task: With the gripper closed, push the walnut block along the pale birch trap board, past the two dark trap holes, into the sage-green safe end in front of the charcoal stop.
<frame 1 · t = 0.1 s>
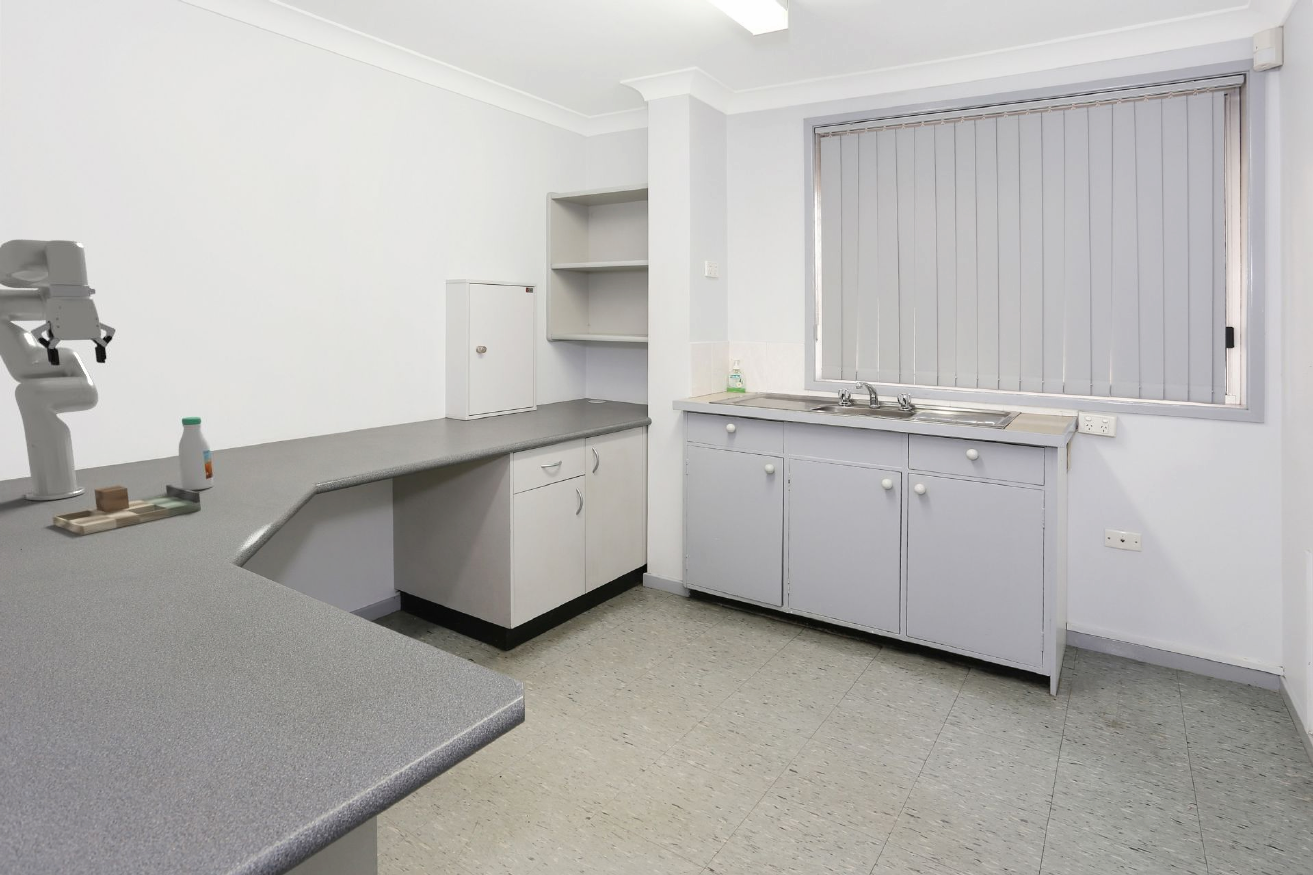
hand: (78, 364, 190), 37 cm above the countertop, tool pointing down, fingers open, 9 cm apart
milk bottle: (198, 488, 219), on the countertop
trap board: (129, 516, 189), on the countertop
walnut block: (113, 508, 189), point 2 cm above the countertop, touching trap board
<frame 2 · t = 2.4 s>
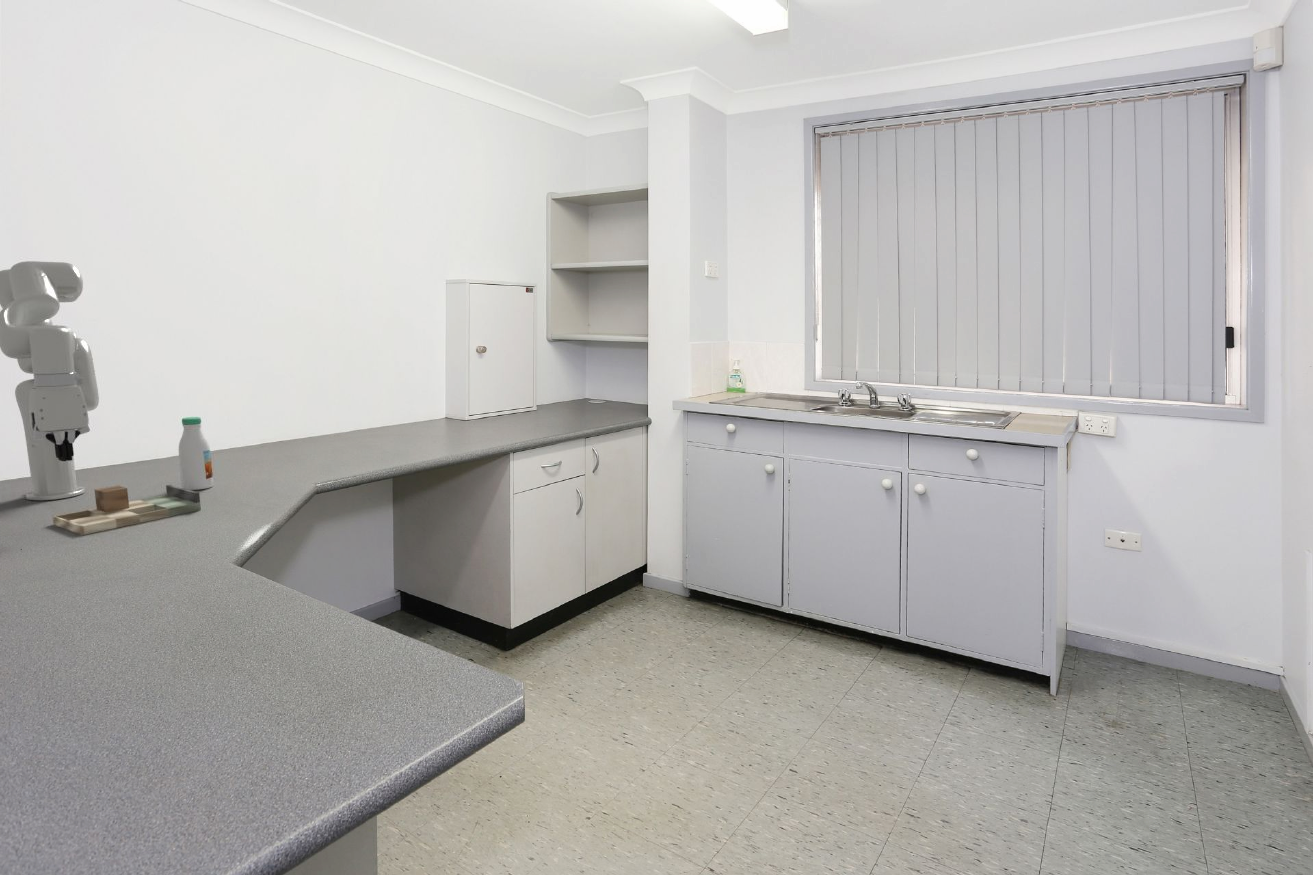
hand: (65, 460, 179), 16 cm above the countertop, tool pointing down, fingers closed
nothing on the countertop moved.
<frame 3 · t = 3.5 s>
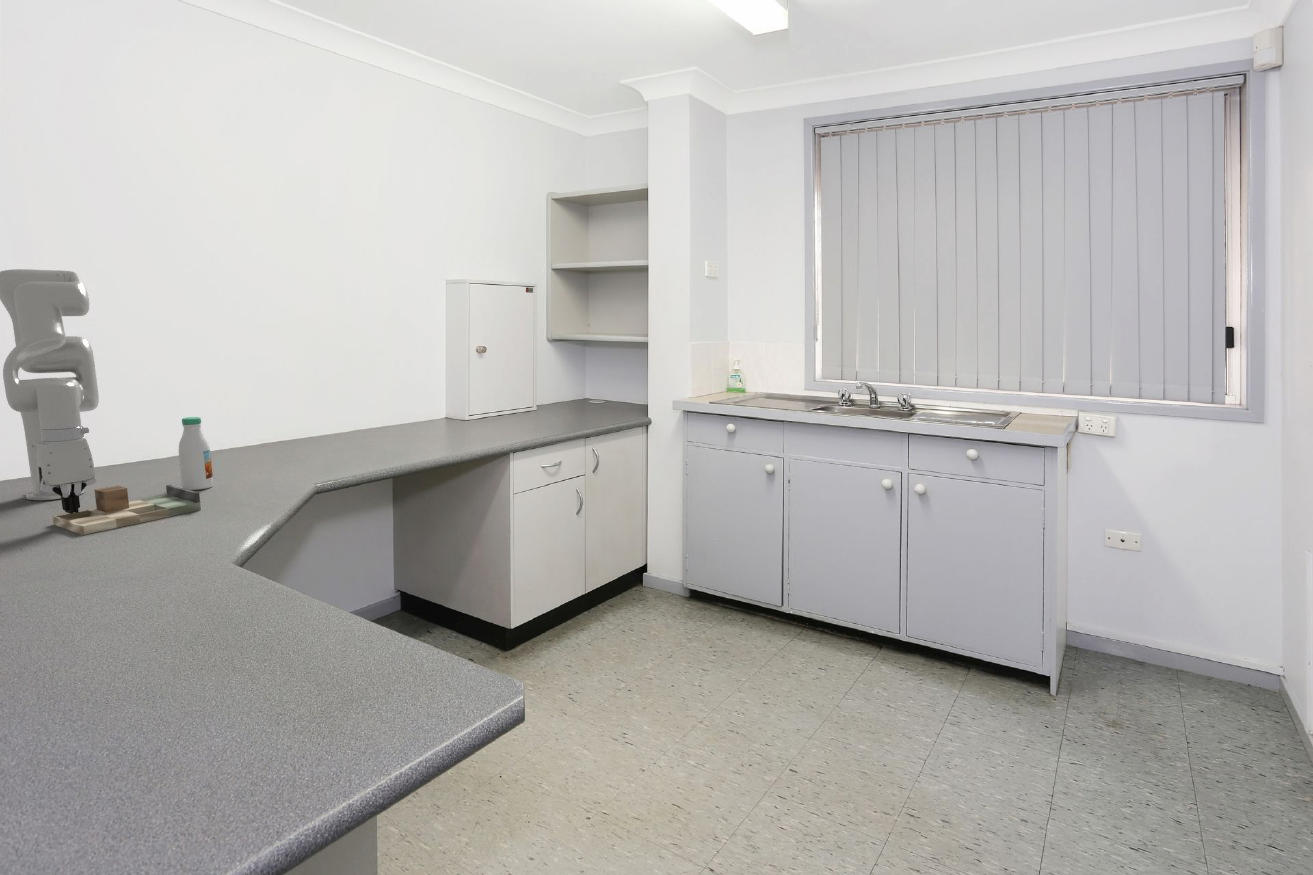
hand: (71, 512, 181), 3 cm above the countertop, tool pointing down, fingers closed
nothing on the countertop moved.
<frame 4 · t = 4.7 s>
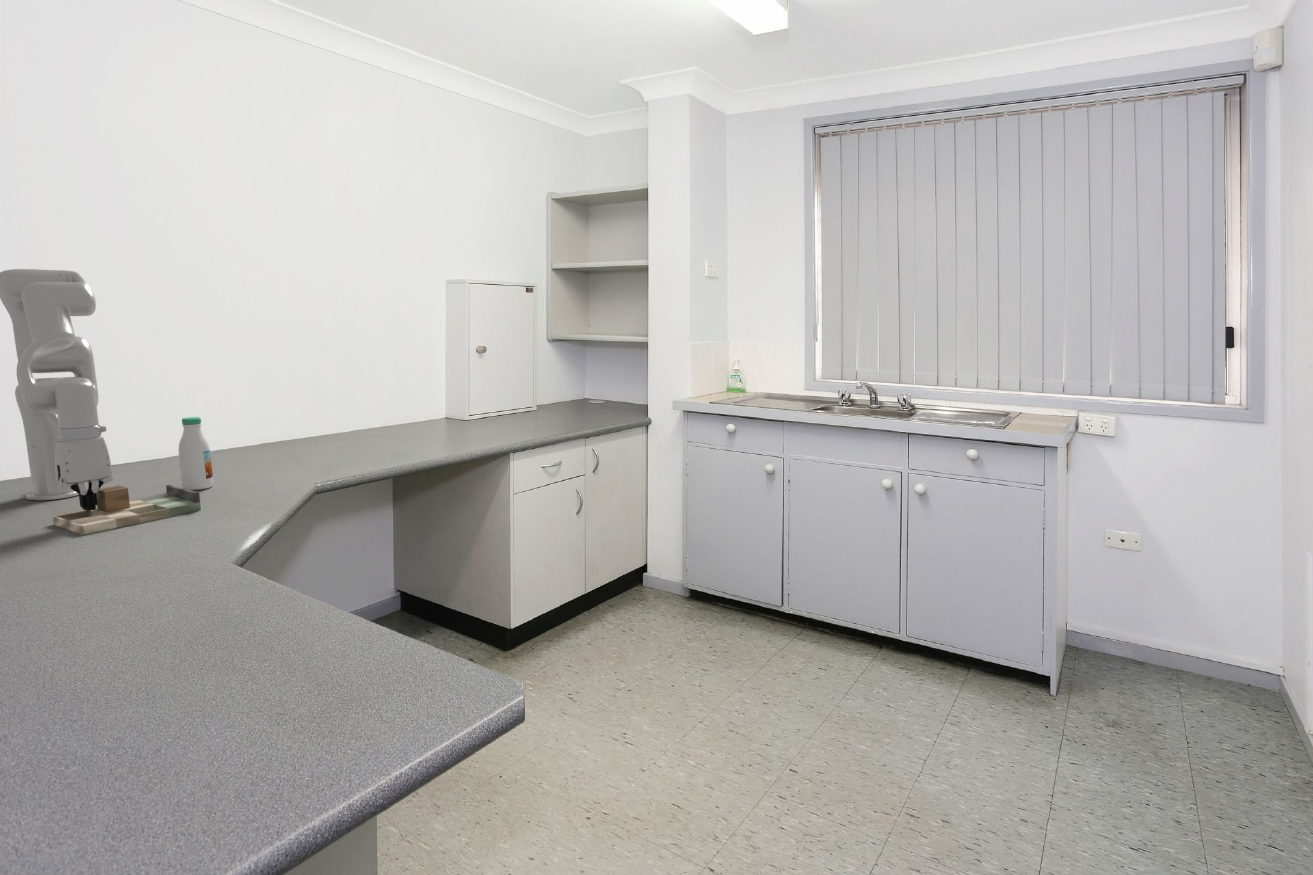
hand: (89, 509, 184), 3 cm above the countertop, tool pointing down, fingers closed
walnut block: (113, 508, 189), point 2 cm above the countertop, touching gripper
everything else where it was.
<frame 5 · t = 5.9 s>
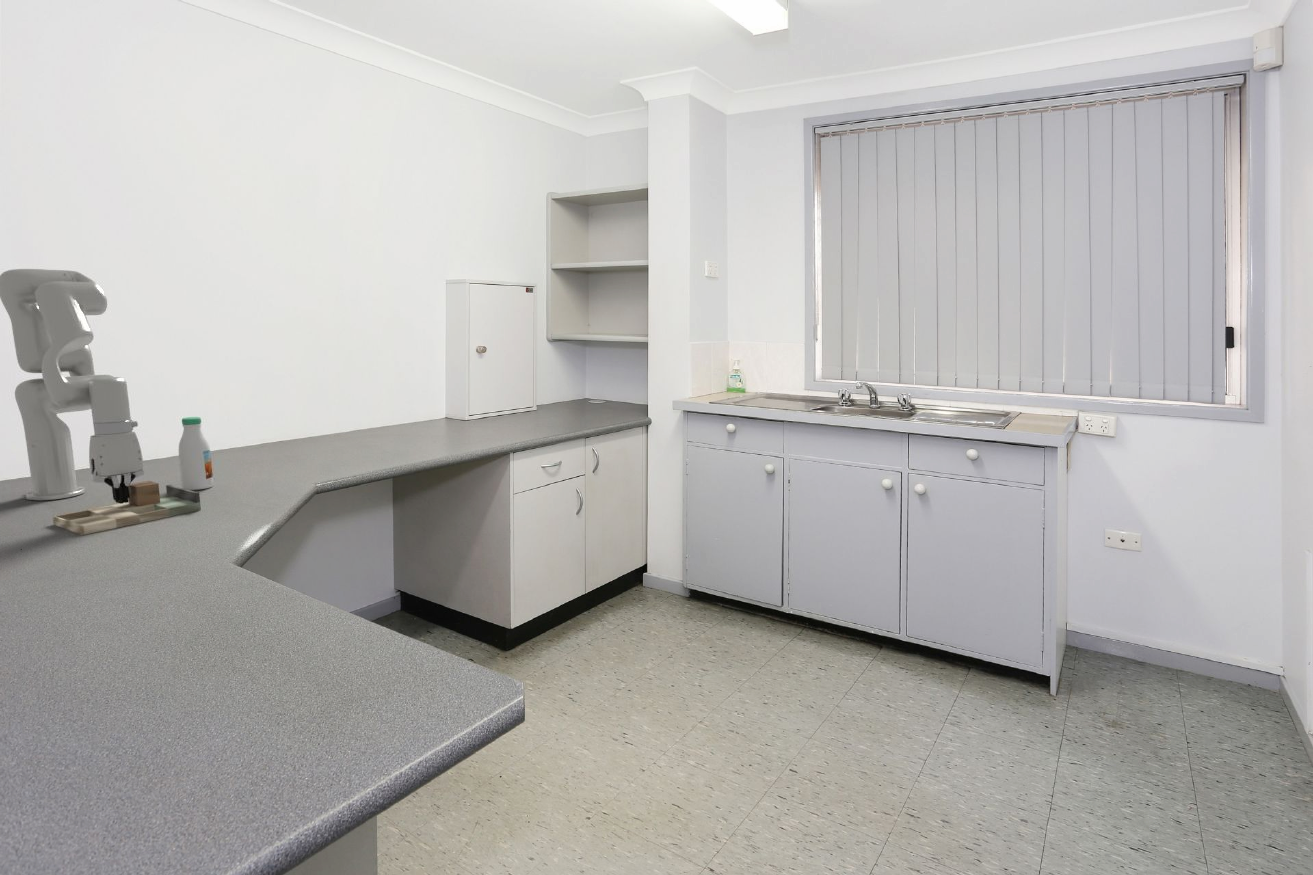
hand: (122, 502, 190), 3 cm above the countertop, tool pointing down, fingers closed
walnut block: (144, 503, 194), point 2 cm above the countertop, touching gripper
everything else where it was.
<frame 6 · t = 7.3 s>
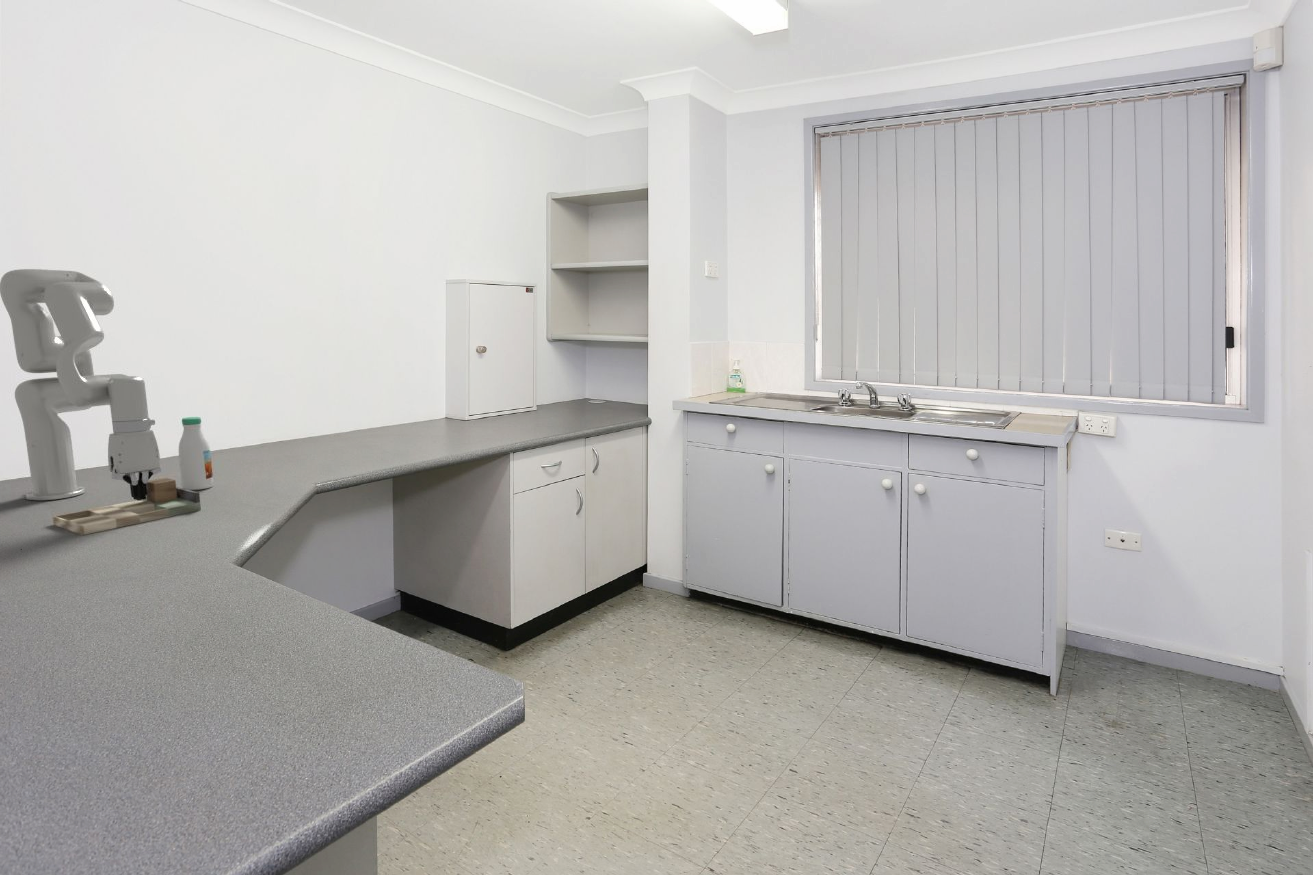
hand: (139, 499, 193), 3 cm above the countertop, tool pointing down, fingers closed
walnut block: (162, 499, 197), point 2 cm above the countertop, touching gripper, trap board
everything else where it was.
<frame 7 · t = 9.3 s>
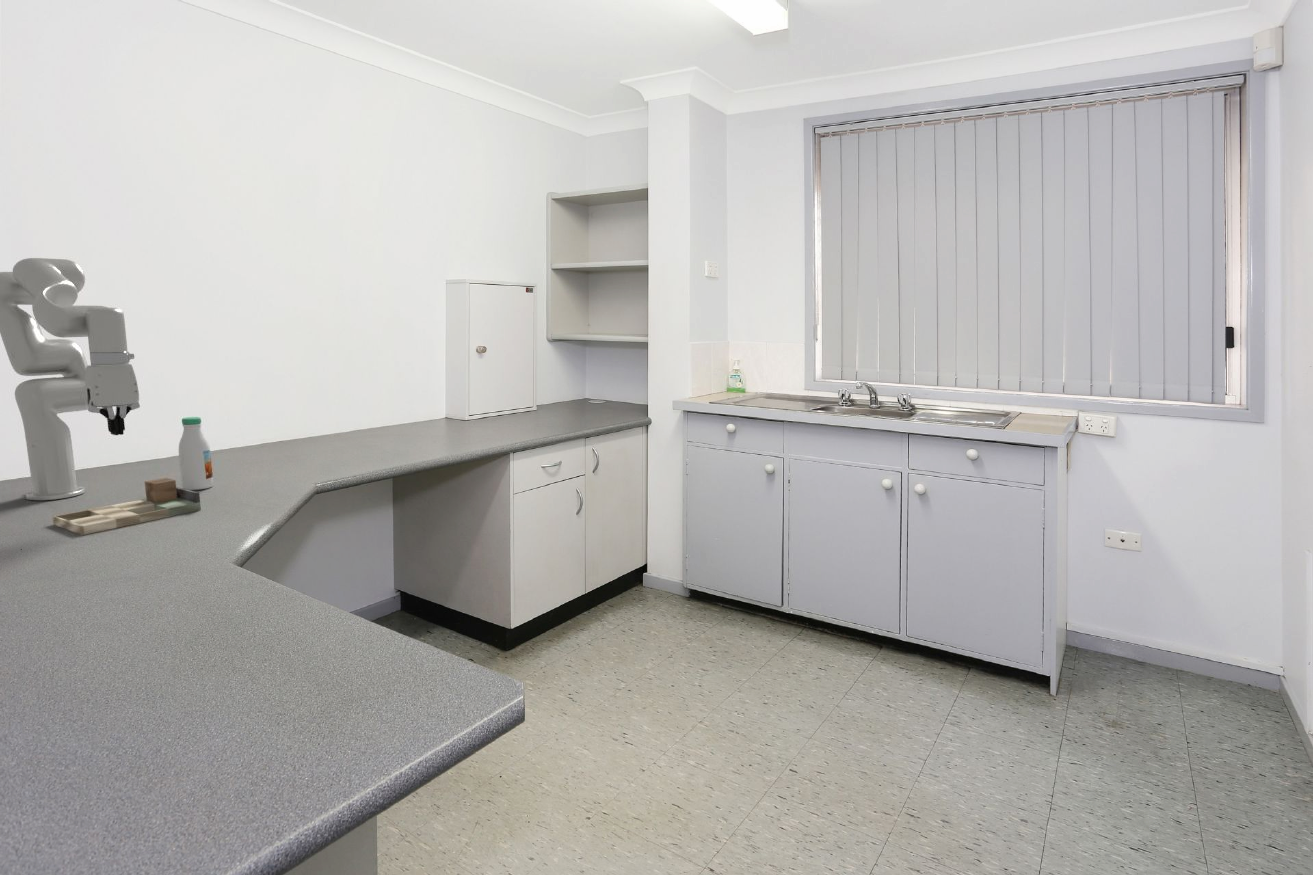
hand: (117, 434, 189), 20 cm above the countertop, tool pointing down, fingers closed
walnut block: (162, 499, 197), point 2 cm above the countertop, touching trap board
everything else where it was.
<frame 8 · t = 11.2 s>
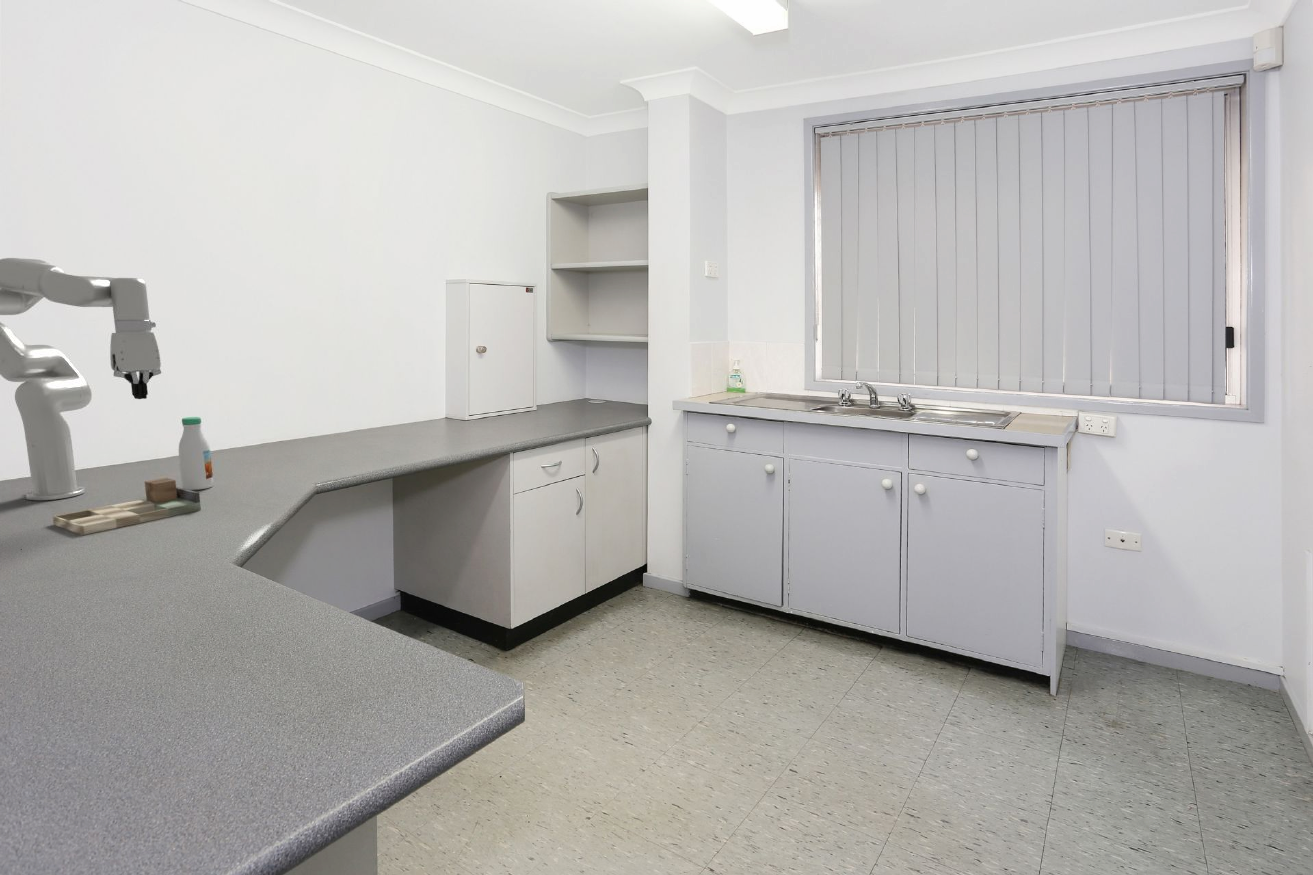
hand: (140, 398, 200), 27 cm above the countertop, tool pointing down, fingers closed
nothing on the countertop moved.
at the end: walnut block inside the target area on the trap board (0.6 cm from its centre), point 2.0 cm above the trap board's base; walnut block tilted 0°; walnut block moved 10.9 cm from its start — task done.
